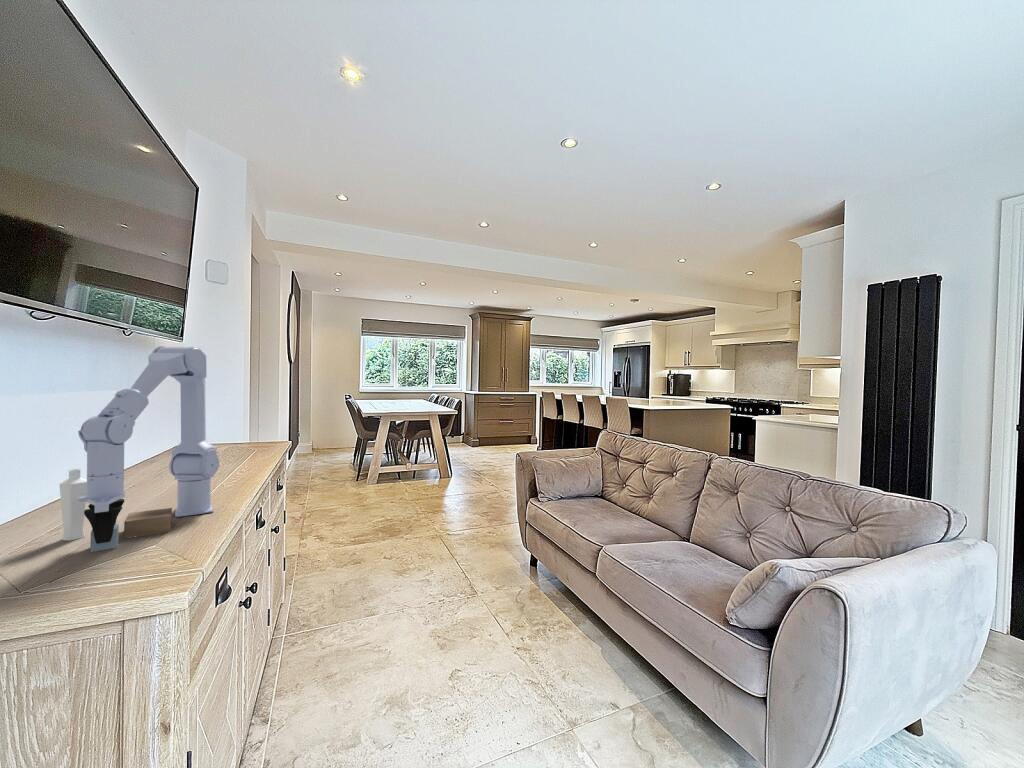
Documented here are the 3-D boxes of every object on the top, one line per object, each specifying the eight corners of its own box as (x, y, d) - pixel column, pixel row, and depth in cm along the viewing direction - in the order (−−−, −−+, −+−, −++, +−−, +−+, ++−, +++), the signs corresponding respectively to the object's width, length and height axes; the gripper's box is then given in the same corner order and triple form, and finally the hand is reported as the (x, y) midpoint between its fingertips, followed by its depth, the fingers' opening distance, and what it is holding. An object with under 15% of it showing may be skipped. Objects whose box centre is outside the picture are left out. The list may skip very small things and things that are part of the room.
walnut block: (128, 530, 104) (128, 513, 104) (171, 524, 108) (171, 507, 108) (124, 540, 97) (124, 521, 97) (170, 533, 102) (170, 515, 102)
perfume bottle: (82, 532, 101) (83, 466, 101) (91, 535, 99) (92, 468, 99) (55, 539, 96) (56, 470, 96) (64, 542, 94) (65, 472, 95)
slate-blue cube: (92, 546, 93) (93, 527, 93) (118, 542, 95) (118, 524, 95) (90, 552, 89) (90, 532, 89) (116, 548, 92) (117, 528, 92)
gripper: (84, 470, 95) (83, 533, 95) (73, 482, 84) (72, 554, 84) (127, 467, 100) (126, 527, 100) (122, 478, 88) (121, 546, 88)
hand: (104, 539), depth 92 cm, fingers closed on slate-blue cube, 4 cm apart
